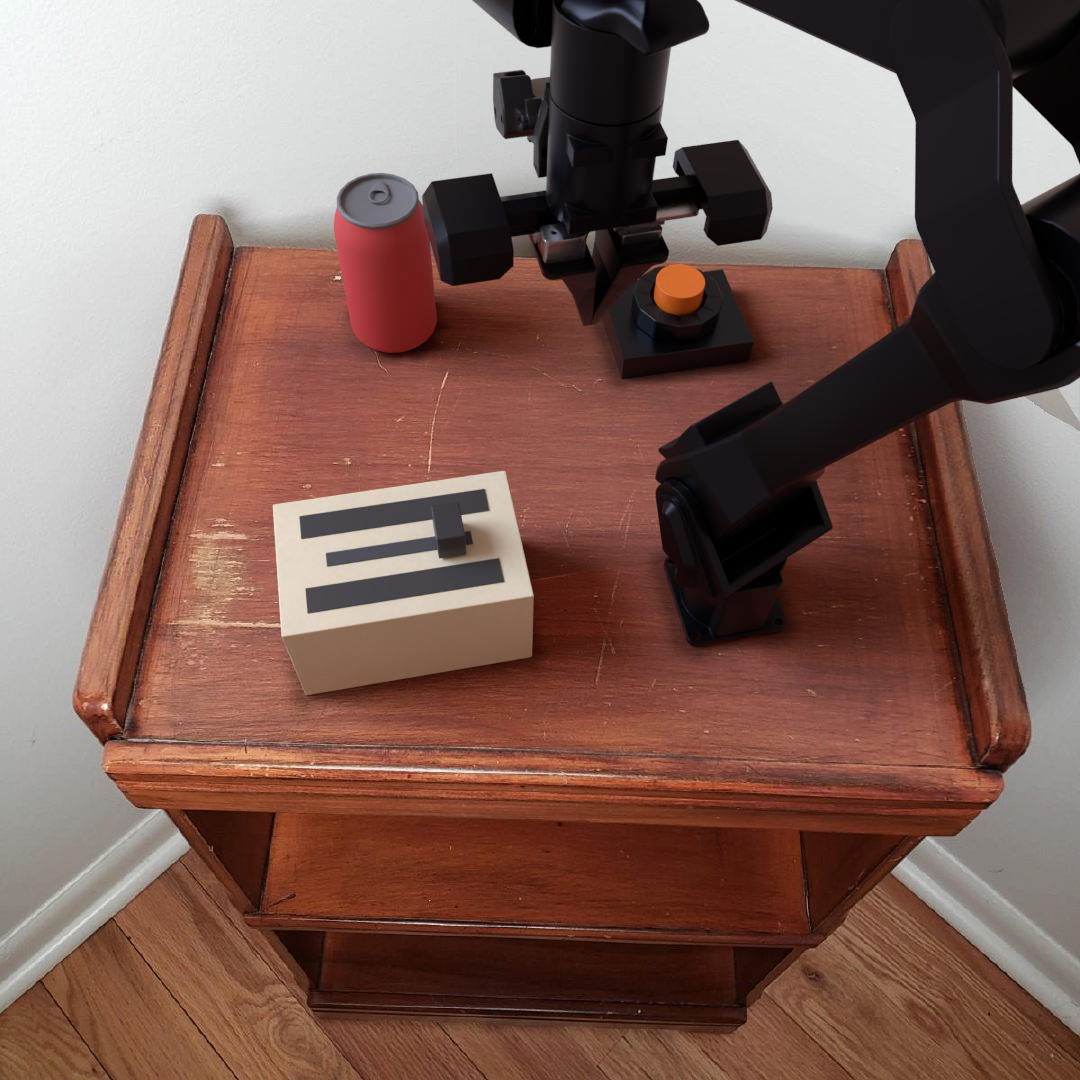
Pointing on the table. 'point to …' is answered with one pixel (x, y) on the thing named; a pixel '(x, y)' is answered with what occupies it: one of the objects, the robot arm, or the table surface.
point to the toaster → (401, 584)
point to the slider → (448, 529)
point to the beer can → (385, 262)
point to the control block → (676, 330)
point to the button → (679, 289)
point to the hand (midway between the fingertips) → (587, 320)
